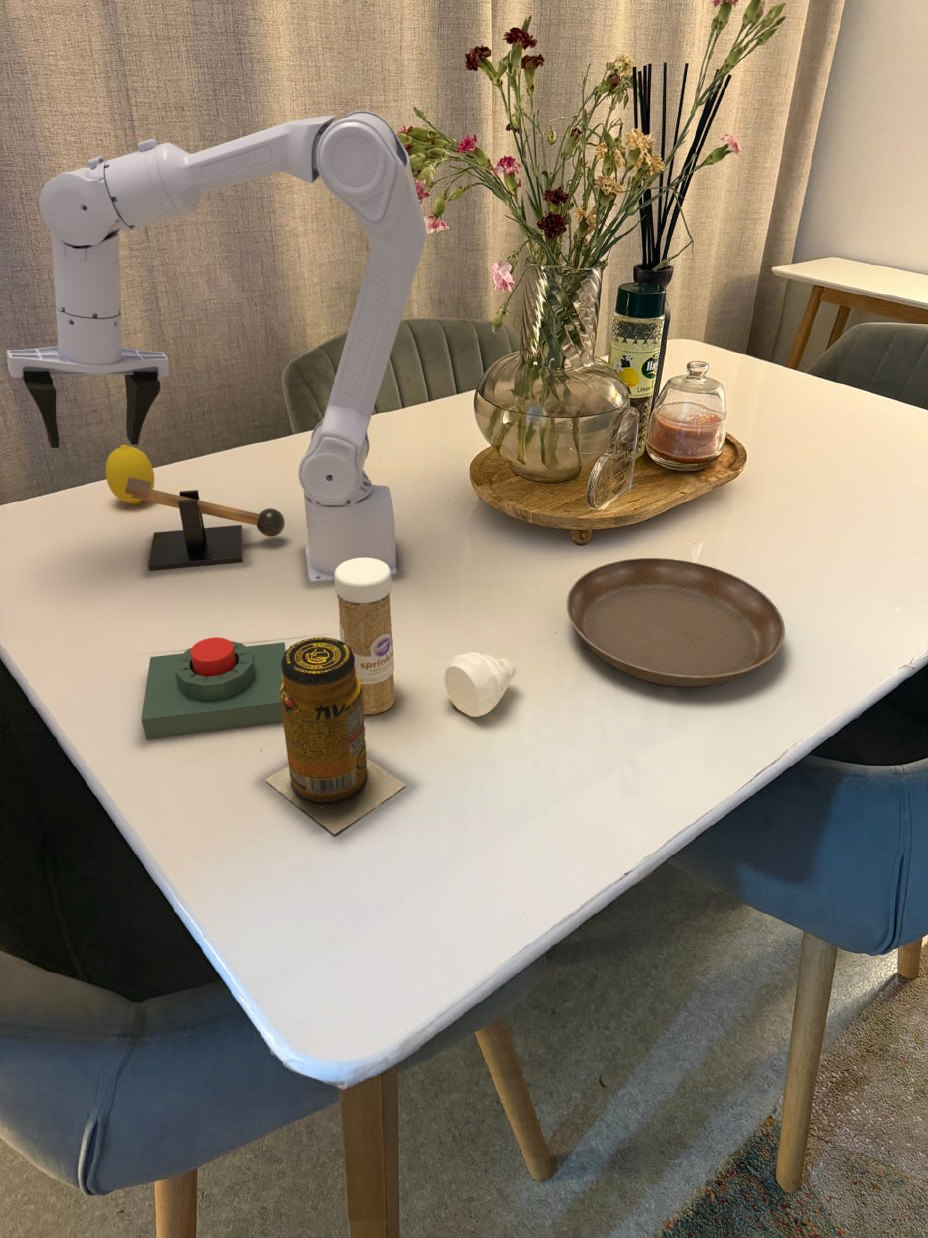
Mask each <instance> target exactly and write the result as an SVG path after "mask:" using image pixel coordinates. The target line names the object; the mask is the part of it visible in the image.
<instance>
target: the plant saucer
mask: <svg viewBox="0 0 928 1238" xmlns="http://www.w3.org/2000/svg"><path fill="white" fill-rule="evenodd" d="M566 613H567V615H568V618H569V621H570V622H571V623H570V624H572V626H573V628H574V630H575V632H576V634H577V635H578V636H579V638H580V639H581V640H582V641H583V643H585V645H586V646H588V647H589V649H590V650H591V651H592V652H593V653H594V654H596V655H597V657H600V658H601V659H602V660H603V661H605V662H606V663H608V664H609V665H611V666H612V667H613V668H616V669H618V670H619V671H621V672H624V673H626V674H627V675H630V676H633V677H635V678H638V679H640V680H644V681H647V682H651V683H656V684H660V685H665V686H672V687H686V688H687V687H689V688H691V687H694V688H695V687H708V686H714V685H720V684H723V683H726V682H731V681H733V680H737V679H739V678H742V677H744V676H747V675H748V674H750V673H752V672H754V671H756V670H757V669H759V668H760V667H762V666H763V665H764V664H766V663H768V662H769V661H770V660H771V659H772V658H773V657H774V656H776V654H777V653H778V651H779V650H780V648H781V647H782V645H783V643H784V640H785V635H786V627H785V623H784V619H783V616H782V614H781V613H780V611H779V609H778V608H777V606H776V605H775V604H774V603H773V601H772V600H771V599H770V598H769V597H768V596H767V595H766V594H765V593H764V592H762V591H761V590H760V589H758V588H757V587H755V586H754V585H752V584H751V583H749V582H747V581H746V580H745V579H742V578H740V577H738V576H736V575H734V574H731V573H729V572H726V571H724V570H721V569H719V568H716V567H713V566H709V565H705V564H703V563H702V564H701V563H698V562H694V561H688V560H683V559H674V558H664V557H663V558H661V557H647V558H646V557H641V558H639V557H638V558H630V559H622V560H617V561H614V562H609V563H606V564H603V565H600V566H598V567H595V568H593V569H591V570H589V571H587V572H586V573H585V574H583V575H582V576H580V577H579V578H578V579H577V580H576V581H575V582H574V583H573V585H572V586H571V588H570V589H569V591H568V594H567V598H566Z"/></svg>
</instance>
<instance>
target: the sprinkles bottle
mask: <svg viewBox="0 0 928 1238" xmlns="http://www.w3.org/2000/svg"><path fill="white" fill-rule="evenodd" d="M392 588H393V587H392V575H391V570H390V568H389V566H388V565H387V564H386V563H384V562H383V561H381V560H378V559H374V558H355V559H351V560H348V561H345V562H343V563H342V564H340V565H339V566H338V567H337V568H336V570H335V581H334V589H335V590H334V591H335V593H336V597H337V598H338V599H337V601H338V612H339V613H338V615H339V624H338V625H339V638H340V641H342V642H344V643H345V644H347V645H348V646H349V647H350V648H351V650H352V652H353V654H354V656H355V663H354V664H355V668H356V675H357V677H358V678H359V680H360V683H361V685H362V691H363V693H362V697H363V709H364V712H363V714H364V715H377V714H380V713H382V712H386V711H387V710H389V709H390V708H391V707H392V706H393V705H394V703H395V701H396V698H397V697H396V696H397V694H396V690H395V681H394V670H395V660H394V640H393V630H392V629H393V628H392V626H393V625H392V624H393V623H392V612H391V611H392V610H391V597H390V596H391V593H392Z"/></svg>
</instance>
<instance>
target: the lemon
mask: <svg viewBox="0 0 928 1238" xmlns="http://www.w3.org/2000/svg"><path fill="white" fill-rule="evenodd" d="M105 476H106V482H107V485H108V488H109V490H110V492H111V493H112V494H113V495H114V497H116V498H117V499H119V500H120V501H122V502H124V503H127V504H128V503H129V504H131V505H134V506H138V505H140V504H141V503H142V501H144V500H140V499H135V498H132V495H131V494H127V493H125V490H126V486H127V482H128V478H129V477H130V478H135V479H139V480H144V481H148V482H151V488H150V489H152V490H154V487H155V472H154V469H153V466H152V463H151V461H150V460H149V458H148V456H147V455H146V453H144V452H143V451H142V450H140V449H138V447H134V446H130V445H127V444H121V445H120V446H119V447H118V448H116V449H114V450H113V451H112V452H111V453H110V454H109V456H108V457H107V459H106V463H105Z"/></svg>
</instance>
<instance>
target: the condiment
mask: <svg viewBox="0 0 928 1238" xmlns="http://www.w3.org/2000/svg"><path fill="white" fill-rule="evenodd" d="M354 663H355V656H354V654H353V652H352V650H351V648H350V647H349V646H348V645H347V644H345V643H344V642H342V641H341V640H339V639H337V638H332V637H327V636H326V637H325V636H318V637H317V636H316V637H311V638H305V639H301V640H300V641H298V642H296V643H294V644H293V645H290V647H288V649H287V650H286V652H285V654H284V656H283V659H282V661H281V668H282V681H283V684H282V686H281V689H280V700H281V708H282V716H283V722H282V724H283V731H284V738H285V745H286V747H285V748H286V755H287V762H288V763H287V765H288V766H286V767H284V768H282V769H279V771H277V772H275V773H273V774H272V775H270V776H268V777H267V778H265V782H267V783H268V784H269V785H270V786H271V787H273V788H274V789H275V790H276V791H277V792H278V793H280V794H282V795H283V796H284V798H286V799H287V800H289V801H290V802H291V803H293V804H294V805H295V806H296V807H298V808H299V809H301V810H303V811H304V812H305V813H306V814H307V815H308V816H309V817H310V818H312V819H313V820H315V822H317V823H319V824H320V825H321V826H323V827H325V828H326V829H327V830H328V831H329V832H330V833H332V834H333V835H336V834H337V833H339V832H340V831H342V830H344V829H346V828H347V827H349V826H351V825H352V824H353V823H355V822H356V821H358V820H359V819H361V818H362V817H364V816H366V815H367V814H368V813H370V812H371V811H372V810H374V809H376V808H378V807H379V806H380V805H381V804H382V803H384V802H385V801H387V800H388V799H389V798H391V797H392V796H394V795H395V794H396V793H398V792H399V791H400V790H401V789H403V788H405V787H406V786H407V785H406V784H405V783H404V782H402V781H401V780H400V779H398V778H397V777H395V776H394V775H392V774H391V773H390V772H389V771H387V770H385V769H384V768H382V767H381V766H380V765H378V764H377V763H375V762H373V761H372V760H370V759H368V757H367V754H368V753H367V744H366V743H367V742H366V726H365V714H363V712H364V709H363V697H362V693H363V691H362V685H361V683H360V680H359V678H358V677H357V675H356V668H355V664H354Z"/></svg>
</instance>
